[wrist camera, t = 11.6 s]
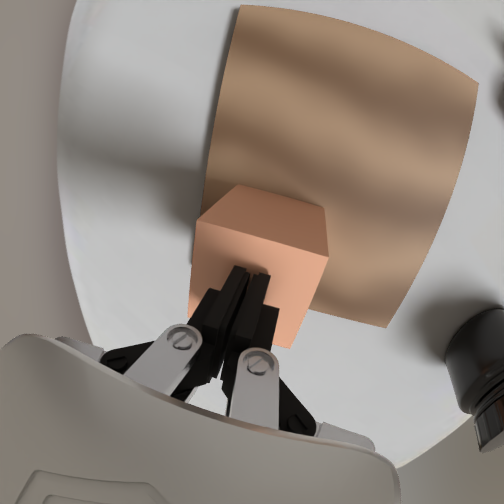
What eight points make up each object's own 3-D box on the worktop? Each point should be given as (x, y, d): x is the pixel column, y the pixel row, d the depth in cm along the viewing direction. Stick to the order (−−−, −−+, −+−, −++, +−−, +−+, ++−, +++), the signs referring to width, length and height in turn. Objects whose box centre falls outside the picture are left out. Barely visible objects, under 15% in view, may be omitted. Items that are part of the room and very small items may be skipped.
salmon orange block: (238, 184, 17) (196, 219, 11) (324, 208, 16) (328, 257, 11) (223, 258, 20) (187, 317, 14) (299, 280, 19) (289, 348, 13)
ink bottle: (486, 365, 20) (512, 445, 10) (431, 373, 22) (449, 468, 12) (521, 300, 16) (570, 383, 6) (465, 303, 18) (514, 411, 8)
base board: (245, 10, 12) (240, 4, 11) (470, 84, 11) (478, 83, 10) (199, 267, 22) (193, 275, 21) (383, 318, 20) (385, 328, 19)
